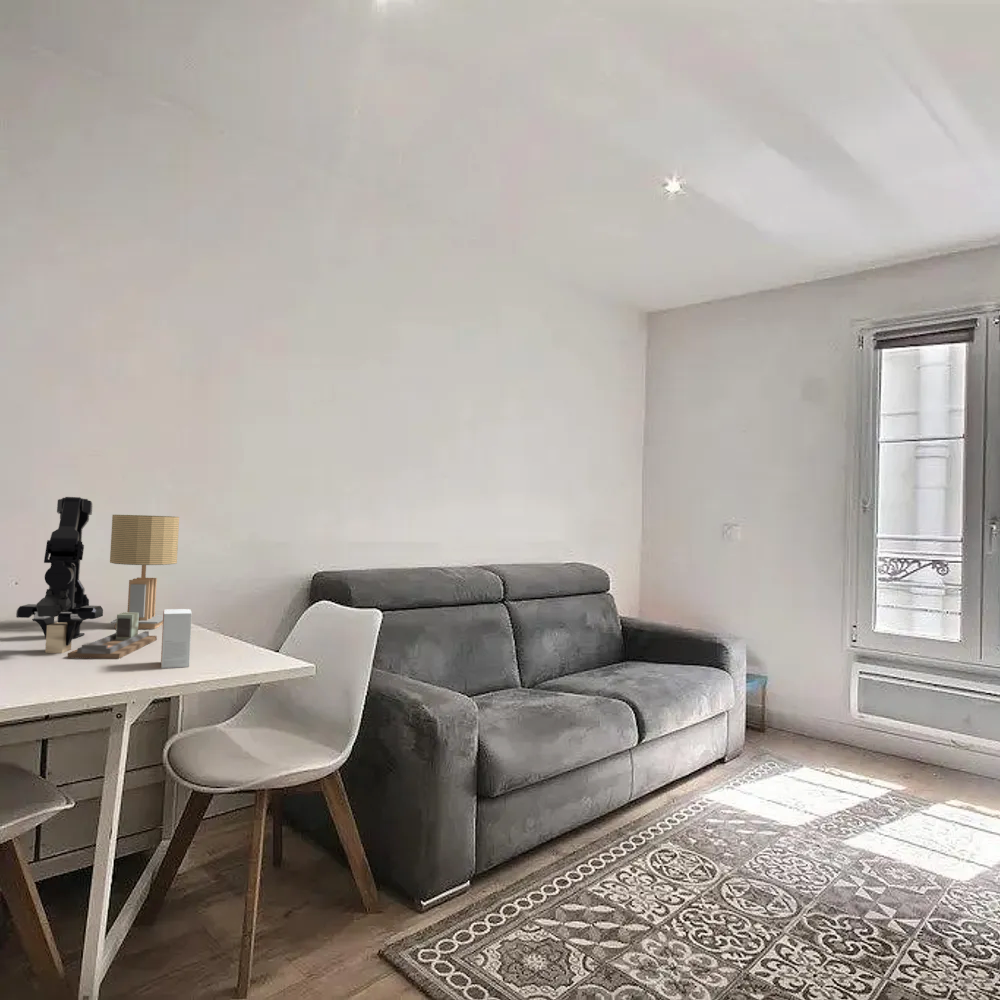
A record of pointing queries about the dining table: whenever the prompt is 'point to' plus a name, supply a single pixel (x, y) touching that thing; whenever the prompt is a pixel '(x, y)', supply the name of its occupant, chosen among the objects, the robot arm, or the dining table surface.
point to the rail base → (116, 640)
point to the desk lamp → (144, 558)
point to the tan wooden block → (57, 638)
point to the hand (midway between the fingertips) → (58, 645)
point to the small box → (176, 638)
